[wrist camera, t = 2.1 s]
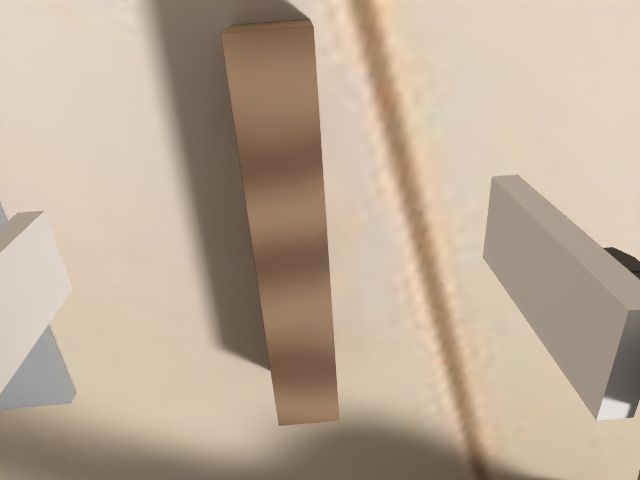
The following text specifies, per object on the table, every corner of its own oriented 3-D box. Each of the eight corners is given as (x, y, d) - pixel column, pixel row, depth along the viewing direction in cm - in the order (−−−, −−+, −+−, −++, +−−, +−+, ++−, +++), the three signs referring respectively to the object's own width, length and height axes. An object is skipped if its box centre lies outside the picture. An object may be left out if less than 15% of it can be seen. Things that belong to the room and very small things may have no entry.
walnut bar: (333, 367, 37) (339, 420, 32) (280, 372, 37) (278, 425, 32) (309, 18, 26) (313, 26, 21) (232, 24, 26) (221, 33, 21)
